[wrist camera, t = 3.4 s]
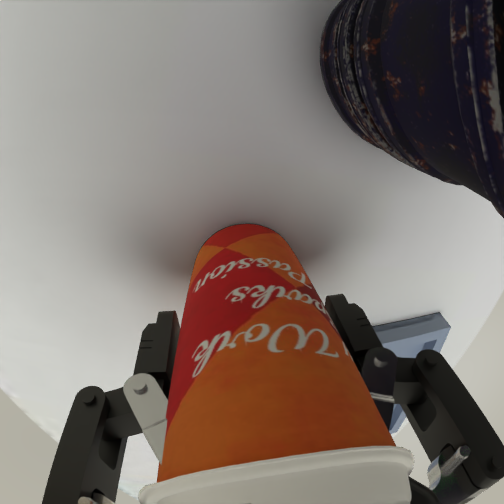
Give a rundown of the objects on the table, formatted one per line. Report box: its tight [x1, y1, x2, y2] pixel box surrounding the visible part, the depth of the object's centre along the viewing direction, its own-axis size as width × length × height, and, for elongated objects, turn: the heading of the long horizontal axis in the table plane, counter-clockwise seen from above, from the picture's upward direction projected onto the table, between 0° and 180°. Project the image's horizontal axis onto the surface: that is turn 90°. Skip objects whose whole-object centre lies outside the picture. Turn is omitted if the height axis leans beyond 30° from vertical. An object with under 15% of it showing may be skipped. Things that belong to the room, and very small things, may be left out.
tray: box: [373, 313, 451, 434], centre depth 24 cm, size 16×16×2 cm
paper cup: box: [138, 224, 414, 504], centre depth 12 cm, size 8×8×14 cm
